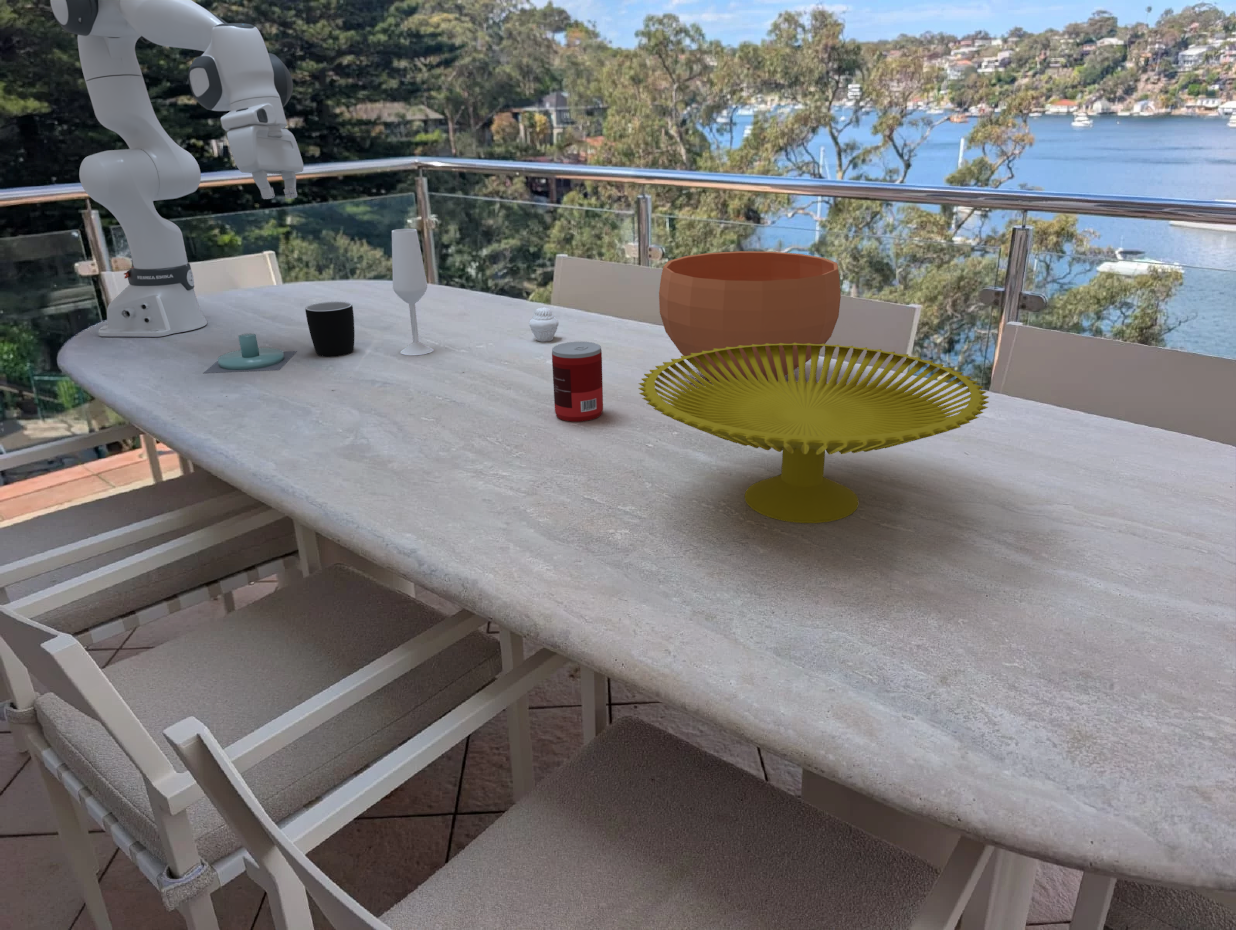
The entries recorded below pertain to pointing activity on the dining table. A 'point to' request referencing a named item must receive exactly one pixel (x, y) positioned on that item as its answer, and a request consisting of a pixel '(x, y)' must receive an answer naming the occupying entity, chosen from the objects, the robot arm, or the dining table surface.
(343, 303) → the mug
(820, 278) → the bowl
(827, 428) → the cake stand
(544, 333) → the white ridged rounded piece
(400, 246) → the champagne flute
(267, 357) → the lid
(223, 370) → the mat
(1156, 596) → the dining table surface
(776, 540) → the dining table surface
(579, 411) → the canned food
